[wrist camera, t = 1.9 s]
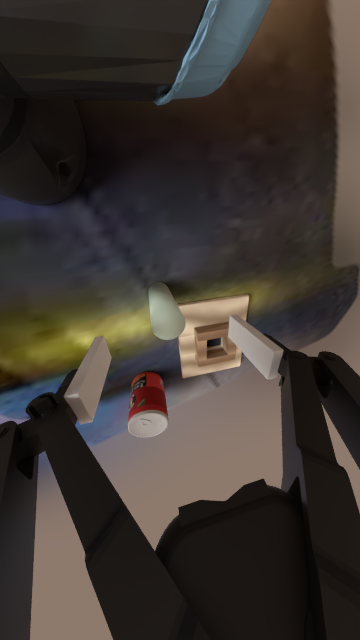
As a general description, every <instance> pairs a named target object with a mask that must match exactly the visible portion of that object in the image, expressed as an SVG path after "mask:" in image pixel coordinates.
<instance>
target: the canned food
mask: <svg viewBox="0 0 360 640" xmlns="http://www.w3.org/2000/svg"><path fill="white" fill-rule="evenodd" d="M167 426H168V414H167V406H166V399H165V392H164V385H163V380H162V378H161V377H160V375H158V374H157V373H154V372H143V373H140V374H138V375H137V376H136V377H135V378H134V380H133V382H132V387H131V397H130V408H129V419H128V430H129V432H130V433H131V434H132V435H134V436H136V437H142V438H147V437H153V436H156V435H158V434H160V433H162V432H163V431H164V430H165V429H166V428H167Z"/></svg>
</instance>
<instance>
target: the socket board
mask: <svg viewBox="0 0 360 640" xmlns="http://www.w3.org/2000/svg"><path fill="white" fill-rule="evenodd" d="M248 301H249V295H247V294H244V295H237V296H230V297H223V298H216V299H210V300H203V301H196V302H189V303H182V304H177V305H178V307H179V309H180V311H181V312H182V314H183V316H184V318H185V322H186V325H185V329H184V331H183V332H182V334H181V335H179V336H178V338H179V349H180V359H181V370H182V377H183V378H187V377H192V376H196V375H201V374H205V373H210V372H215V371H219V370H224V369H228V368H233V367H238V366H240V362H241V354H242V351H241V350H240V349H239V348H238V347H237V346H236V345H235V344H234V343H233V341H232V340H231V339H230V338H229V337H228V331H229V317H230V315H235V314H236V315H238V316H239V317H240V318H242V319H243V320H244V321H246V316H247V309H248ZM215 338H221V345H218V346H213V347H207V340H210V339H215Z"/></svg>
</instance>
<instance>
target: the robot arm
mask: <svg viewBox="0 0 360 640" xmlns="http://www.w3.org/2000/svg"><path fill="white" fill-rule="evenodd" d="M270 3H271V0H0V194H2V195H4V196H7V197H10V198H12V199H15V200H18V201H21V202H24V203H29V204H34V205H50V204H55V203H58V202H61V201H63V200H65V199H66V198H68V197H69V196H70V195H71V194H72V193H73V192H74V191H75V190H76V189H77V187H78V186H79V184H80V182H81V180H82V178H83V175H84V171H85V167H86V157H87V150H86V139H85V133H84V129H83V125H82V121H81V118H80V115H79V112H78V110H77V107H76V105H75V103H74V100H73V99H87V100H126V101H152V102H154V103H155V104H156V105H164V104H166V103H168V102H170V101H171V100H172V99H182V98H196V97H204V96H207V95H209V94H211V93H213V92H214V91H215V90H217V89H218V88H219V87H220V86H221V85H222V84H223V82H224V81H225V80H226V78H227V77H228V76H229V74H230V72H231V71H232V70H233V69H234V68H235V67H236V66H237V65H238V63H239V62H240V60H241V59H242V57H243V56H244V54H245V52H246V50H247V48H248V47H249V45H250V43H251V41H252V39H253V37H254V36H255V34H256V32H257V30H258V28H259V26H260V24H261V22H262V20H263V18H264V15H265V13H266V11H267V9H268V7H269V5H270ZM228 337H229V338H230V339H231V340H232V341H233V343H234V344H235V345H236V346H237V347H238V348H239V349H240V350H241V351H242V352H243V354H244V355H245V356H246V357H247V358H248V359H249V360H250V361H251V362H252V363H253V364H254V366H255V367H256V368H257V369H258V370H259V371H260V372H261V373H262V374H263V375H264V376H265V378H266V379H267V380H269V379H273V378H276V377H277V373H280V375H282V376H281V379H280V382H279V386H280V385H281V412H282V451H283V478H282V485H281V489H279V488H276V487H273V486H269V485H267V484H266V482H265V481H264V479H261V480H258V481H255V482H252V483H249V484H246V485H244V486H243V487H241V489H239V490H238V491H237V492H236V493H235V494H233V495H232V496H231V497H230V498H229V499H228V500H226V501H209V500H199V501H196V502H193V503H190V504H187V505H184V506H181V507H179V515H178V516H177V517H175V518H174V519H173V520H172V522H171V523H170V524H169V525H168V527H167V528H166V529H165V531H164V533H163V535H162V536H161V538H160V540H159V543H158V545H157V547H156V550H155V551H154V549H153V548H152V546H151V545H150V543H149V542H148V540H147V538H146V537H145V535H144V534H143V532H142V531H141V529H140V527H139V526H138V524H137V523H136V521H135V520H134V518H133V516H132V515H131V513H130V512H129V510H128V509H127V507H126V505H125V504H124V503H123V501H122V499H121V498H120V496H119V494H118V493H117V491H116V490H115V488H114V487H113V485H112V483H111V482H110V481H109V479H108V477H107V476H106V474H105V472H104V471H103V469H102V468H101V466H100V465H99V463H98V462H97V460H96V458H95V457H94V455H93V454H92V452H91V451H90V449H89V447H88V446H87V444H86V442H85V441H84V439H83V438H82V436H81V435H80V433H79V431H78V430H77V428H76V427H75V424H76V421H77V419H78V421H79V423H80V424H84V423H89V422H93V419H94V416H95V412H96V409H97V405H98V402H99V399H100V395H101V392H102V389H103V385H104V382H105V378H106V375H107V372H108V368H109V365H110V362H111V355H110V352H109V350H108V347H107V344H106V341H105V338H104V336H100V337H95V339H94V341H93V343H92V345H91V346H90V348H89V350H88V352H87V354H86V356H85V358H84V359H83V361H82V363H81V365H80V367H79V369H75V370H72V371H71V372H70V373H69V374H68V375H67V376H66V377H65V379H64V381H63V382H62V384H61V387H59V389H58V391H57V392H56V394H54V393H52V392H48V393H44V394H42V395H40V396H38V397H36V398H35V399H33V400H32V401H31V402H30V403H29V404H28V406H27V407H26V413H27V414H28V415H29V416H30V418H31V419H29V420H27V421H25V422H23V423H21V424H18V425H17V423H16V422H14V421H8V422H5V423H3V424H1V425H0V640H30V622H31V603H32V601H31V600H32V581H33V561H34V539H35V519H36V499H37V477H38V457H39V456H38V455H39V454H40V453H42V452H44V451H45V452H46V454H47V457H48V459H49V462H50V464H51V467H52V469H53V472H54V474H55V477H56V479H57V482H58V485H59V487H60V490H61V492H62V495H63V497H64V500H65V502H66V505H67V507H68V510H69V512H70V515H71V517H72V520H73V523H74V525H75V528H76V530H77V533H78V535H79V538H80V540H81V543H82V545H83V548H84V551H85V563H86V568H87V571H88V574H89V577H90V579H91V582H92V584H93V587H94V590H95V592H96V595H97V598H98V600H99V603H100V606H101V608H102V611H103V613H104V616H105V619H106V621H107V624H108V627H109V629H110V632H111V635H112V637H113V640H360V513H359V510H358V506H357V503H356V500H355V496H354V493H353V490H352V486H351V483H350V480H349V477H348V474H347V472H346V470H345V469H344V468H343V467H342V466H340V465H339V464H338V463H337V460H336V457H335V453H334V449H333V446H332V442H331V438H330V434H329V430H328V427H327V423H326V419H325V416H324V412H323V408H322V405H323V406H324V408H325V410H326V412H327V414H328V415H329V417H330V419H331V421H332V422H333V424H334V426H335V428H336V429H337V431H338V433H339V434H340V436H341V438H342V439H343V441H344V443H345V445H346V447H347V448H348V450H349V452H350V454H351V455H352V457H353V459H354V460H355V462H356V464H357V466H358V467H359V469H360V376H359V375H358V374H357V373H355V371H354V370H353V369H352V368H351V367H350V366H349V365H348V364H347V363H346V362H345V361H344V360H343V359H342V358H341V357H340V356H338V355H336V354H334V353H331V352H326V351H325V352H324V351H322V352H319V355H318V357H308V356H307V355H306V354H304V353H302V352H299V351H291V350H289V349H288V348H286V347H285V346H284V345H282V344H281V343H280V342H278V341H277V340H275V339H274V338H273V337H271V336H269V335H267V334H265V333H264V334H262V333H260V332H259V331H258V330H256V329H255V328H254V327H252V326H251V325H250V324H248V323H247V322H246V321H244V320H243V319H242V318H240V317H239V316H238V315H236V314H235V315H230V317H229V331H228ZM321 403H322V404H321Z"/></svg>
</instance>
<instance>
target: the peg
mask: <svg viewBox="0 0 360 640" xmlns="http://www.w3.org/2000/svg"><path fill="white" fill-rule="evenodd" d="M148 293H149V304H150V316H151V327H152V331H153V333H154V334H155V335H156V336H157V337H158V338H161V339H164V340H170V339H174V338H176V337H178V336H179V335H181V334H182V332H183V331H184V329H185V325H186V322H185V318H184V316H183V314H182V312H181V311H180V309H179V307H178V305H177V303H176V301H175V299H174V298H173V296H172V294H171V292H170V290H169V288H168V287H167V285H166V284H164V283H162V282H155V283H153V284H152V285H151V286H150V288H149V292H148Z"/></svg>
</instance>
